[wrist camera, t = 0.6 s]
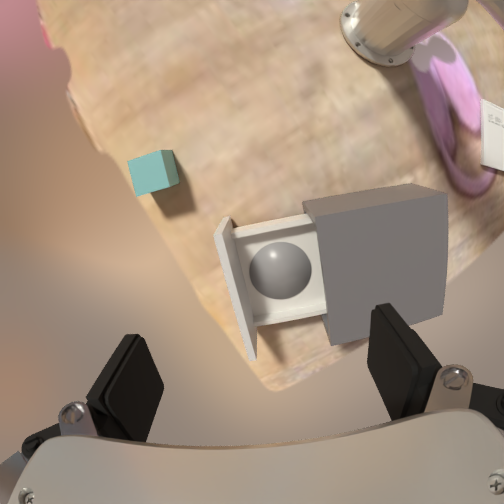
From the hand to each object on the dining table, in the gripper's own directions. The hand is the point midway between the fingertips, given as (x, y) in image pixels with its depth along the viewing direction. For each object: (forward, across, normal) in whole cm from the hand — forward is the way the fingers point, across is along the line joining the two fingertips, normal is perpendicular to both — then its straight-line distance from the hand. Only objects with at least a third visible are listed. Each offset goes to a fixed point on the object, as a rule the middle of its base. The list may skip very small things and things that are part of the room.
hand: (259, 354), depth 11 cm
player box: (+31, -16, +8) cm, 36 cm away
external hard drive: (+31, -46, -10) cm, 57 cm away
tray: (+31, -5, +9) cm, 33 cm away
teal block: (+32, +13, -8) cm, 35 cm away
